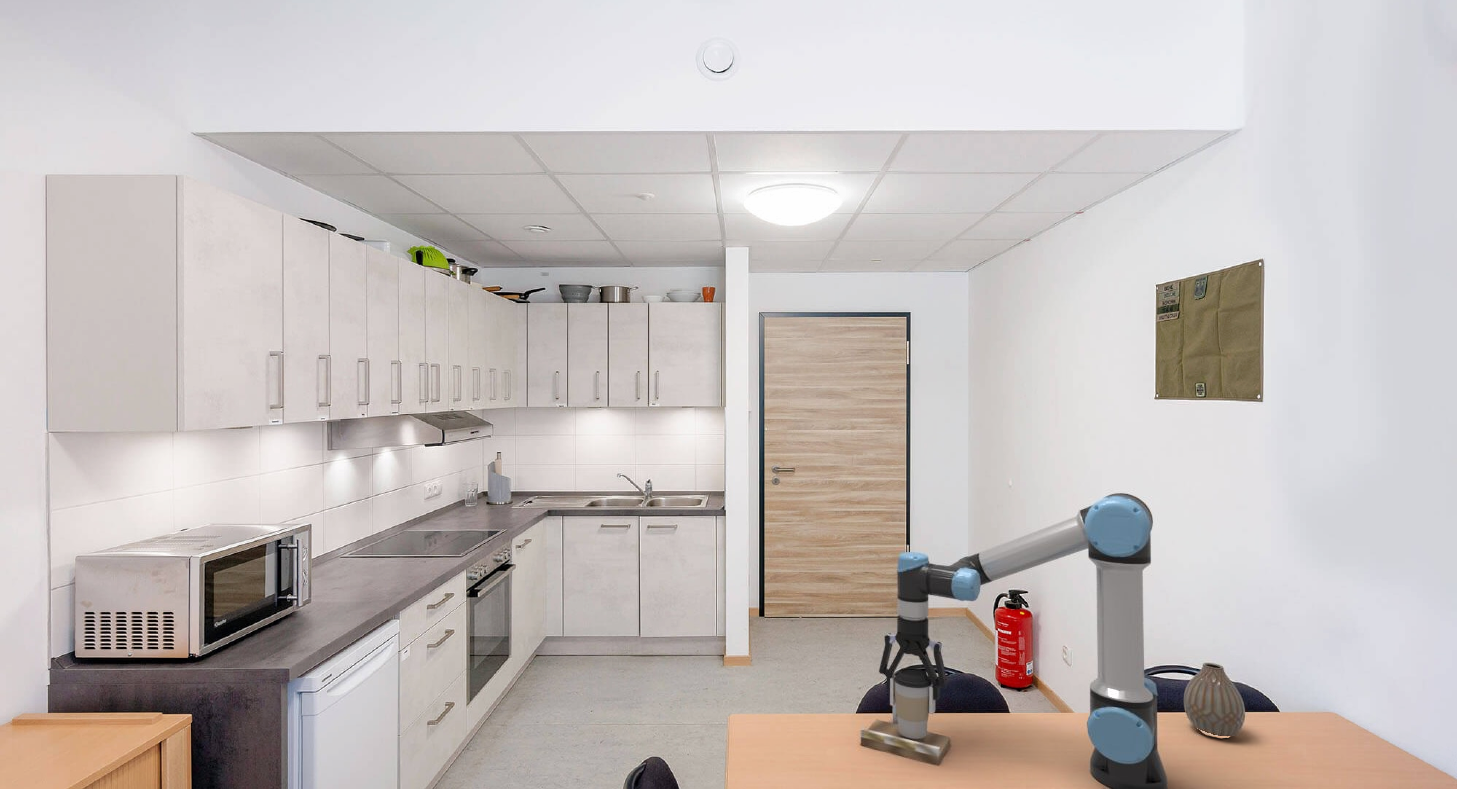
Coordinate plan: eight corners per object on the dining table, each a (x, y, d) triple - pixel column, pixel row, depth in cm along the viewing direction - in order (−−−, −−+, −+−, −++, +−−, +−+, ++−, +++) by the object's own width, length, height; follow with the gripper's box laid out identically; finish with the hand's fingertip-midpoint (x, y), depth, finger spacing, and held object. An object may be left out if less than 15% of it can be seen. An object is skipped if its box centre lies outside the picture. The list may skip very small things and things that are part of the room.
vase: (1172, 725, 184) (1171, 659, 185) (1208, 719, 188) (1207, 654, 188) (1220, 748, 171) (1219, 676, 172) (1258, 741, 175) (1257, 671, 176)
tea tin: (912, 723, 183) (912, 695, 184) (907, 730, 179) (907, 701, 180) (895, 719, 186) (895, 692, 186) (889, 725, 182) (889, 698, 182)
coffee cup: (894, 738, 167) (894, 675, 168) (893, 722, 176) (893, 663, 177) (933, 742, 165) (933, 679, 166) (929, 726, 174) (929, 666, 175)
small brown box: (950, 745, 171) (950, 729, 171) (938, 766, 161) (938, 749, 161) (876, 727, 181) (876, 712, 181) (860, 745, 170) (860, 729, 170)
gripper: (961, 619, 169) (961, 712, 168) (875, 606, 180) (875, 693, 180) (954, 627, 163) (953, 723, 162) (865, 612, 174) (865, 703, 173)
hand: (912, 707), depth 171 cm, fingers closed on coffee cup, 9 cm apart
